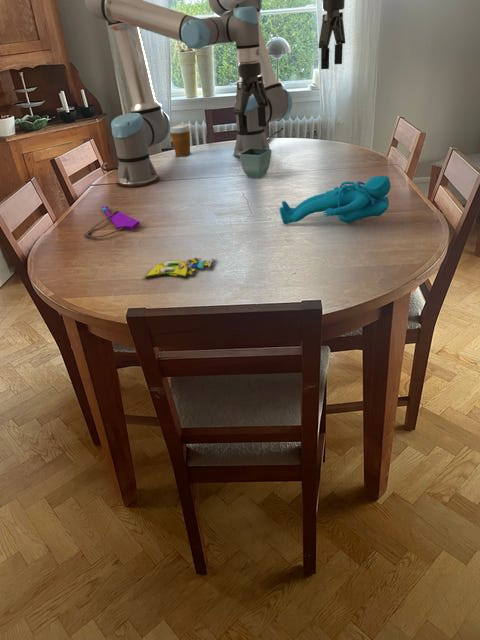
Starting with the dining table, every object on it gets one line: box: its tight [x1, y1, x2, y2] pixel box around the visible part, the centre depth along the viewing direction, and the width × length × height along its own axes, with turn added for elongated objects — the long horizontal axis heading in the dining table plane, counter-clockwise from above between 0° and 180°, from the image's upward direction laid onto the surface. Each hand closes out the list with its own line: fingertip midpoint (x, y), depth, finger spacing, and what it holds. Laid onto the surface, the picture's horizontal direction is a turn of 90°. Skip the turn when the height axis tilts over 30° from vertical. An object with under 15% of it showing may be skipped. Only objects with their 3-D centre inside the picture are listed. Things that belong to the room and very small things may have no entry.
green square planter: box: [239, 148, 272, 179], centre depth 176 cm, size 9×9×9 cm
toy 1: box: [145, 257, 214, 279], centre depth 117 cm, size 10×1×15 cm
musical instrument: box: [85, 205, 141, 239], centre depth 147 cm, size 24×2×20 cm
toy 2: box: [278, 175, 392, 225], centre depth 133 cm, size 17×11×30 cm
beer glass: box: [169, 123, 191, 157], centre depth 210 cm, size 10×10×12 cm
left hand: (253, 130), depth 169 cm, fingers open, 13 cm apart
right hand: (331, 66), depth 175 cm, fingers open, 13 cm apart
